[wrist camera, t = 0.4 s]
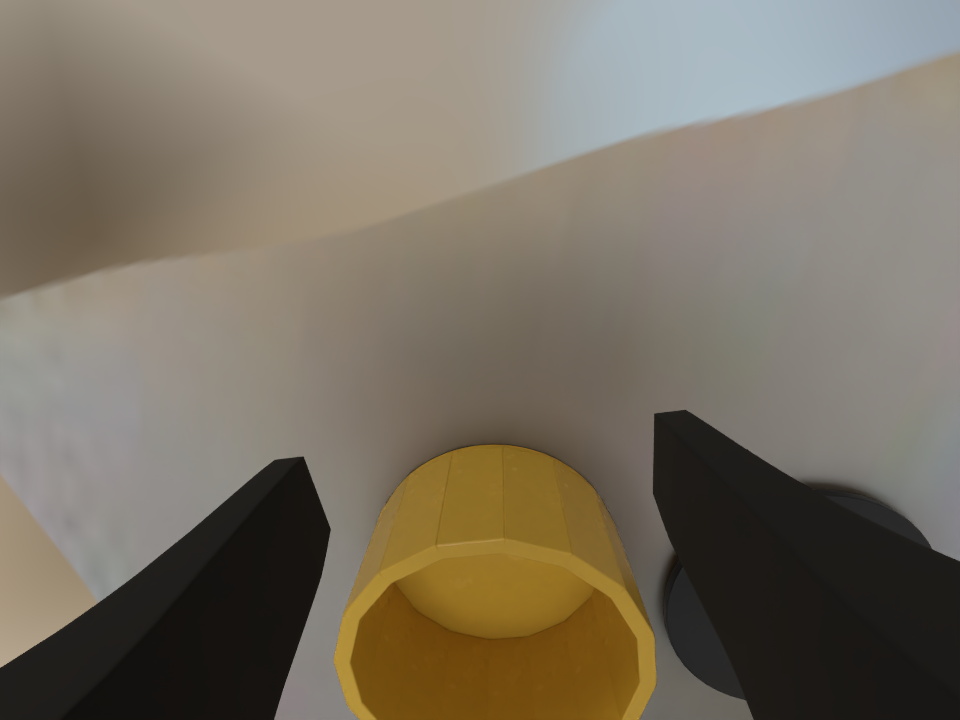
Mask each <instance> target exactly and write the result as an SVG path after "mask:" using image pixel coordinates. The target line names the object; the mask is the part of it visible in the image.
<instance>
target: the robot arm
mask: <svg viewBox="0 0 960 720" xmlns="http://www.w3.org/2000/svg"><path fill="white" fill-rule="evenodd" d="M653 495H654V497H655V500H656V503H657V506H658V509H659V512H660V515H661V518H662V521H663V523H664V526H665V529H666V531H667V534H668V537H669V539H670V541H671V544H672V546H673V548H674V550H675V552H676V554H677V556H678V558H679V560H680V562H681V564H682V566H683V568H684V570H685V572H686V574H687V576H688V578H689V580H690V582H691V584H692V586H693V588H694V590H695V592H696V594H697V596H698V598H699V600H700V602H701V604H702V606H703V608H704V610H705V612H706V614H707V616H708V618H709V620H710V622H711V624H712V626H713V628H714V629H715V631H716V633H717V635H718V637H719V639H720V641H721V643H722V645H723V647H724V649H725V652H726V654H727V656H728V658H729V660H730V663H731V665H732V667H733V669H734V671H735V674H736V676H737V678H738V681H739V683H740V686H741V688H742V691H743V693H744V696H745V698H746V701H747V703H748V706H749V709H750V711H751V714H752V716H753V719H754V720H960V561H958V560H955V559H953V558H950V557H948V556H946V555H943V554H941V553H939V552H937V551H934V550H932V549H930V548H928V547H925V546H923V545H921V544H919V543H917V542H914V541H912V540H910V539H908V538H906V537H904V536H902V535H900V534H898V533H896V532H894V531H891V530H889V529H887V528H885V527H883V526H881V525H879V524H877V523H875V522H873V521H871V520H869V519H867V518H865V517H863V516H861V515H859V514H857V513H855V512H853V511H851V510H849V509H847V508H845V507H843V506H841V505H840V504H838V503H836V502H834V501H832V500H831V499H829V498H827V497H825V496H823V495H822V494H820V493H818V492H816V491H814V490H813V489H811V488H809V487H807V486H806V485H804V484H802V483H800V482H799V481H797V480H795V479H793V478H792V477H790V476H788V475H787V474H785V473H783V472H782V471H780V470H778V469H777V468H775V467H774V466H772V465H770V464H769V463H767V462H765V461H764V460H762V459H761V458H759V457H758V456H756V455H754V454H753V453H751V452H750V451H748V450H747V449H745V448H744V447H742V446H740V445H739V444H737V443H736V442H734V441H733V440H731V439H730V438H728V437H727V436H725V435H724V434H722V433H721V432H719V431H718V430H716V429H715V428H713V427H712V426H710V425H709V424H707V423H706V422H704V421H703V420H701V419H699V418H698V417H696V416H695V415H693V414H692V413H690V412H688V411H687V410H681V411H672V412H664V413H656V414H654V464H653ZM330 530H331V529H330V526H329V523H328V521H327V518H326V515H325V513H324V510H323V507H322V505H321V502H320V499H319V497H318V494H317V491H316V489H315V486H314V483H313V481H312V478H311V475H310V473H309V470H308V467H307V465H306V462H305V459H304V457H295V458H286V459H278V460H274V461H273V462H272V463H270V464H269V465H268V466H266V467H265V468H264V469H262V470H261V471H260V472H259V473H258V474H256V475H255V476H254V477H253V478H252V479H250V480H249V481H248V482H247V483H246V484H245V485H243V486H242V487H241V488H240V489H239V490H238V491H236V492H235V493H234V494H233V495H232V496H231V497H230V498H228V499H227V500H226V501H225V502H224V503H223V504H221V505H220V506H219V507H218V508H217V509H216V510H215V511H213V512H212V513H211V514H210V515H209V516H208V517H206V518H205V519H204V520H203V521H202V522H201V523H199V524H198V525H197V526H196V527H195V528H194V529H192V530H191V531H190V532H189V533H188V534H186V535H185V536H184V537H183V538H181V539H180V540H179V541H178V542H177V543H175V544H174V545H173V546H172V547H170V548H169V549H168V550H167V551H165V552H164V553H163V554H162V555H160V556H159V557H158V558H157V559H155V560H154V561H153V562H152V563H150V564H149V565H148V566H147V567H146V568H144V569H143V570H142V571H141V572H139V573H138V574H137V575H136V576H134V577H133V578H132V579H130V580H129V581H128V582H126V583H125V584H124V585H122V586H121V587H120V588H118V589H117V590H116V591H114V592H113V593H112V594H110V595H109V596H107V597H106V598H105V599H103V600H102V601H101V602H99V603H98V604H96V605H95V606H94V607H92V608H91V609H89V610H88V611H87V612H85V613H84V614H82V615H81V616H79V617H78V618H76V619H75V620H74V621H72V622H71V623H69V624H68V625H66V626H65V627H64V628H62V629H60V630H59V631H57V632H56V633H55V634H53V635H51V636H50V637H48V638H47V639H45V640H43V641H42V642H40V643H39V644H37V645H36V646H34V647H32V648H31V649H29V650H28V651H26V652H25V653H23V654H22V655H20V656H18V657H17V658H15V659H14V660H12V661H11V662H9V663H7V664H6V665H4V666H3V667H1V668H0V720H274V718H275V714H276V711H277V708H278V704H279V701H280V698H281V694H282V691H283V688H284V685H285V682H286V679H287V676H288V673H289V671H290V668H291V665H292V662H293V659H294V656H295V653H296V650H297V647H298V644H299V641H300V639H301V636H302V633H303V630H304V627H305V624H306V621H307V618H308V615H309V612H310V609H311V606H312V603H313V600H314V597H315V594H316V591H317V588H318V585H319V582H320V579H321V576H322V571H323V567H324V562H325V557H326V552H327V547H328V541H329V536H330Z"/></svg>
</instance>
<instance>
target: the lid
mask: <svg viewBox="0 0 960 720" xmlns="http://www.w3.org/2000/svg"><path fill="white" fill-rule="evenodd" d="M814 491H816V492H818V493H820V494H822V495H823V496H825V497H827V498H829V499H831V500H832V501H834V502H836V503H838V504H840V505H841V506H843V507H845V508H847V509H849V510H851V511H853V512H855V513H857V514H859V515H861V516H863V517H865V518H867V519H869V520H871V521H873V522H875V523H877V524H879V525H881V526H883V527H885V528H887V529H889V530H891V531H894V532H896V533H898V534H900V535H902V536H904V537H906V538H908V539H910V540H912V541H914V542H917V543H919V544H921V545H923V546H925V547H928V548H930V549H932V548H931V546H930V544H929V542H928V541H927V540H926V538H925V537H924V536H923V534H922V533H921V532H920V531H919V530H918V529H917V528H916V527H915V526H914V525H913V524H912V523H911V522H910V521H909V520H907V519H906V518H905V517H904V516H902V515H901V514H899V513H898V512H896V511H895V510H893V509H892V508H890V507H889V506H887V505H885V504H883V503H881V502H878V501H876V500H874V499H871V498H868V497H865V496H862V495H859V494H854V493H849V492H843V491H836V490H814ZM663 614H664V622H665V627H666V630H667V634H668V637H669V640H670V642H671V645H672V647H673V649H674V650H675V652H676V654H677V656H678V657H679V659H680V660H681V662H682V663H683V664H684V666H685V667H686V668H687V669H688V670H689V671H690V672H691V673H692V674H693V675H694V676H696V677H697V678H698V679H700V680H701V681H702V682H704V683H705V684H707V685H709V686H710V687H712V688H714V689H716V690H718V691H720V692H722V693H725V694H727V695H730V696H733V697H736V698H740V699H743V700H746V698H745V696H744V693H743V691H742V688H741V686H740V683H739V681H738V678H737V676H736V674H735V671H734V669H733V667H732V665H731V663H730V660H729V658H728V656H727V654H726V652H725V649H724V647H723V645H722V643H721V641H720V639H719V637H718V635H717V633H716V631H715V629H714V628H713V626H712V624H711V622H710V620H709V618H708V616H707V614H706V612H705V610H704V608H703V606H702V604H701V602H700V600H699V598H698V596H697V594H696V592H695V590H694V588H693V586H692V584H691V582H690V580H689V578H688V576H687V574H686V572H685V570H684V568H683V566H682V564H681V562H680V560H678V562H677V564H676V566H675V568H674V569H673V571H672V573H671V576H670V579H669V581H668V584H667V587H666V592H665V597H664V609H663Z"/></svg>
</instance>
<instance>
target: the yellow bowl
mask: <svg viewBox="0 0 960 720" xmlns="http://www.w3.org/2000/svg"><path fill="white" fill-rule="evenodd" d="M334 665H335V668H336V671H337V674H338V677H339V681H340V684H341V687H342V690H343V693H344V696H345V700H346V703H347V706H348V707H349V709H350V710H351V711H352V712H353V713H354V714H355V715H356V716H357V718H358V719H359V720H639V719H640V717H641V715H642V713H643V711H644V709H645V707H646V705H647V703H648V701H649V699H650V697H651V695H652V693H653V691H654V689H655V687H656V683H657V678H656V657H655V636H654V633H653V630H652V627H651V624H650V621H649V619H648V616H647V613H646V610H645V607H644V605H643V602H642V599H641V596H640V593H639V590H638V588H637V585H636V582H635V579H634V576H633V574H632V571H631V568H630V565H629V562H628V559H627V557H626V554H625V551H624V548H623V545H622V542H621V540H620V537H619V534H618V531H617V528H616V526H615V523H614V521H613V520H612V518H611V516H610V515H609V513H608V511H607V509H606V507H605V505H604V503H603V501H602V499H601V498H600V496H599V495H598V494H597V492H596V491H595V489H594V488H593V487H592V486H591V485H590V484H589V483H588V482H587V481H586V480H585V479H584V478H583V477H582V476H581V475H580V474H578V473H577V472H576V471H575V470H573V469H572V468H571V467H569V466H567V465H566V464H564V463H562V462H561V461H559V460H557V459H555V458H553V457H551V456H548V455H546V454H544V453H541V452H538V451H534V450H531V449H528V448H522V447H517V446H511V445H496V444H493V445H477V446H471V447H466V448H461V449H457V450H454V451H451V452H447V453H445V454H443V455H440V456H438V457H436V458H434V459H431V460H430V461H428V462H427V463H425V464H423V465H422V466H420V467H418V468H417V469H416V470H415V471H413V472H412V473H411V474H410V475H408V476H407V477H406V478H405V479H404V480H403V482H402V483H401V484H400V485H399V486H398V487H397V488H396V490H395V491H394V493H393V494H392V495H391V497H390V498H389V500H388V502H387V503H386V505H385V506H384V507H383V509H382V511H381V513H380V516H379V519H378V521H377V524H376V527H375V529H374V532H373V535H372V538H371V540H370V543H369V546H368V548H367V551H366V554H365V556H364V559H363V562H362V565H361V567H360V570H359V573H358V575H357V578H356V581H355V583H354V586H353V589H352V592H351V594H350V597H349V600H348V602H347V605H346V608H345V610H344V613H343V617H342V622H341V626H340V631H339V636H338V641H337V646H336V651H335V655H334Z"/></svg>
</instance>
